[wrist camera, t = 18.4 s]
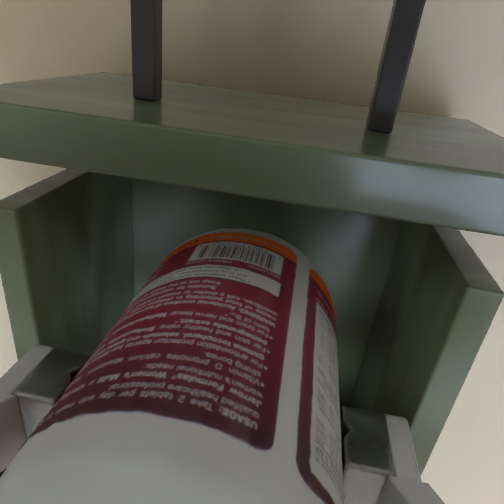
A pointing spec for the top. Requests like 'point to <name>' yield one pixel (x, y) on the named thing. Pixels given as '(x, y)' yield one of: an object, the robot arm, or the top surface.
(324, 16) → the top surface
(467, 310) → the drawer
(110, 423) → the pill bottle
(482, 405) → the top surface
